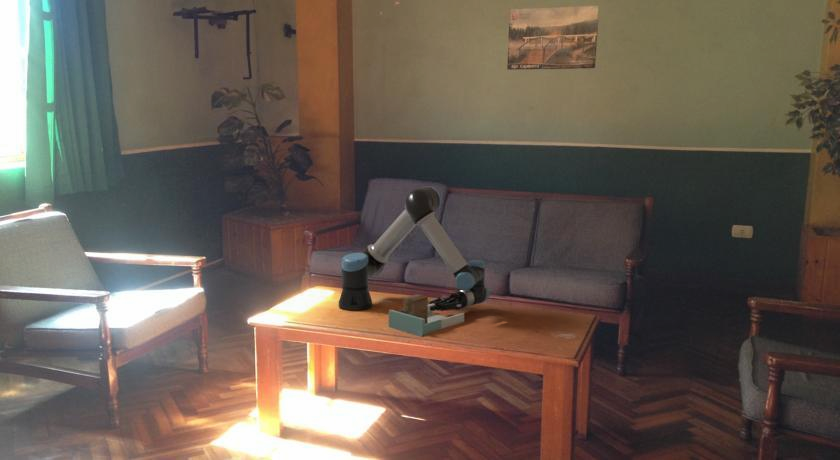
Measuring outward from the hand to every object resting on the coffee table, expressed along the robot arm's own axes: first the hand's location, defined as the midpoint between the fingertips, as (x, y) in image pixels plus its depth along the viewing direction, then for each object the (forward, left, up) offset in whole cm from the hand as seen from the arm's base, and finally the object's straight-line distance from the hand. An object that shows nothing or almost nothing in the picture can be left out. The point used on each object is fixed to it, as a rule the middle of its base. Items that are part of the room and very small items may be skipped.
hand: (423, 309), depth 292 cm
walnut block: (0, -4, -6) cm, 7 cm away
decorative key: (-17, +21, -7) cm, 28 cm away
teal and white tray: (0, +3, -7) cm, 7 cm away
